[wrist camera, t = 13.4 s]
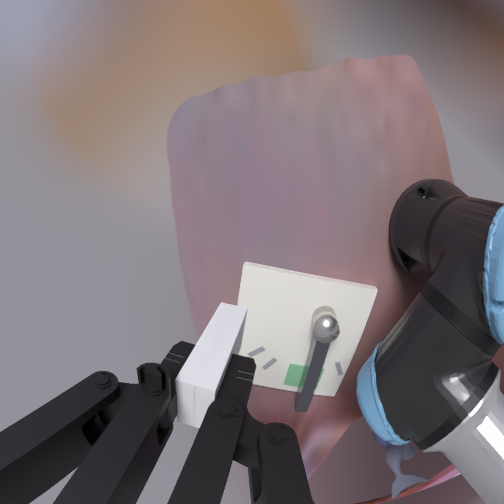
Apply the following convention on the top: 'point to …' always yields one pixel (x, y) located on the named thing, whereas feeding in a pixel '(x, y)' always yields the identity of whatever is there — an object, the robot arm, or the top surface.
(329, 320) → the ball-tipped lever
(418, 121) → the top surface
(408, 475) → the seal
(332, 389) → the dial board
